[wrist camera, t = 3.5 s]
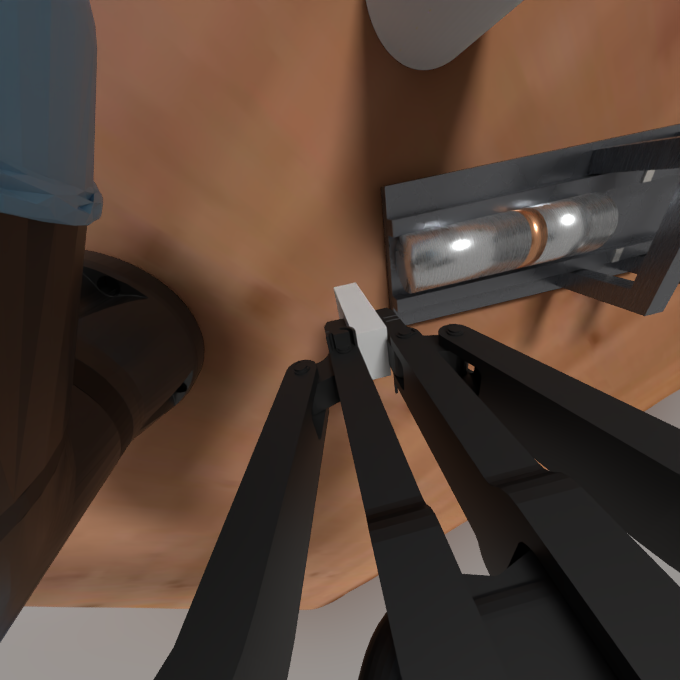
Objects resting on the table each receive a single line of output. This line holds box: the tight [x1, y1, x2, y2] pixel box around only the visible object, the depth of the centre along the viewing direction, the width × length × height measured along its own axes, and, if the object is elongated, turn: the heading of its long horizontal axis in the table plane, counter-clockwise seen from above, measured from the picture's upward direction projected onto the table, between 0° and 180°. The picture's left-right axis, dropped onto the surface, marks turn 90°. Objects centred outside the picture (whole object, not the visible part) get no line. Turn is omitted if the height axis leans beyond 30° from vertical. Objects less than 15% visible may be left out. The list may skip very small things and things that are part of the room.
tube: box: [396, 193, 618, 293], centre depth 20 cm, size 15×4×4 cm, turn 100°
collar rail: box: [381, 124, 680, 325], centre depth 19 cm, size 27×12×8 cm, turn 100°
